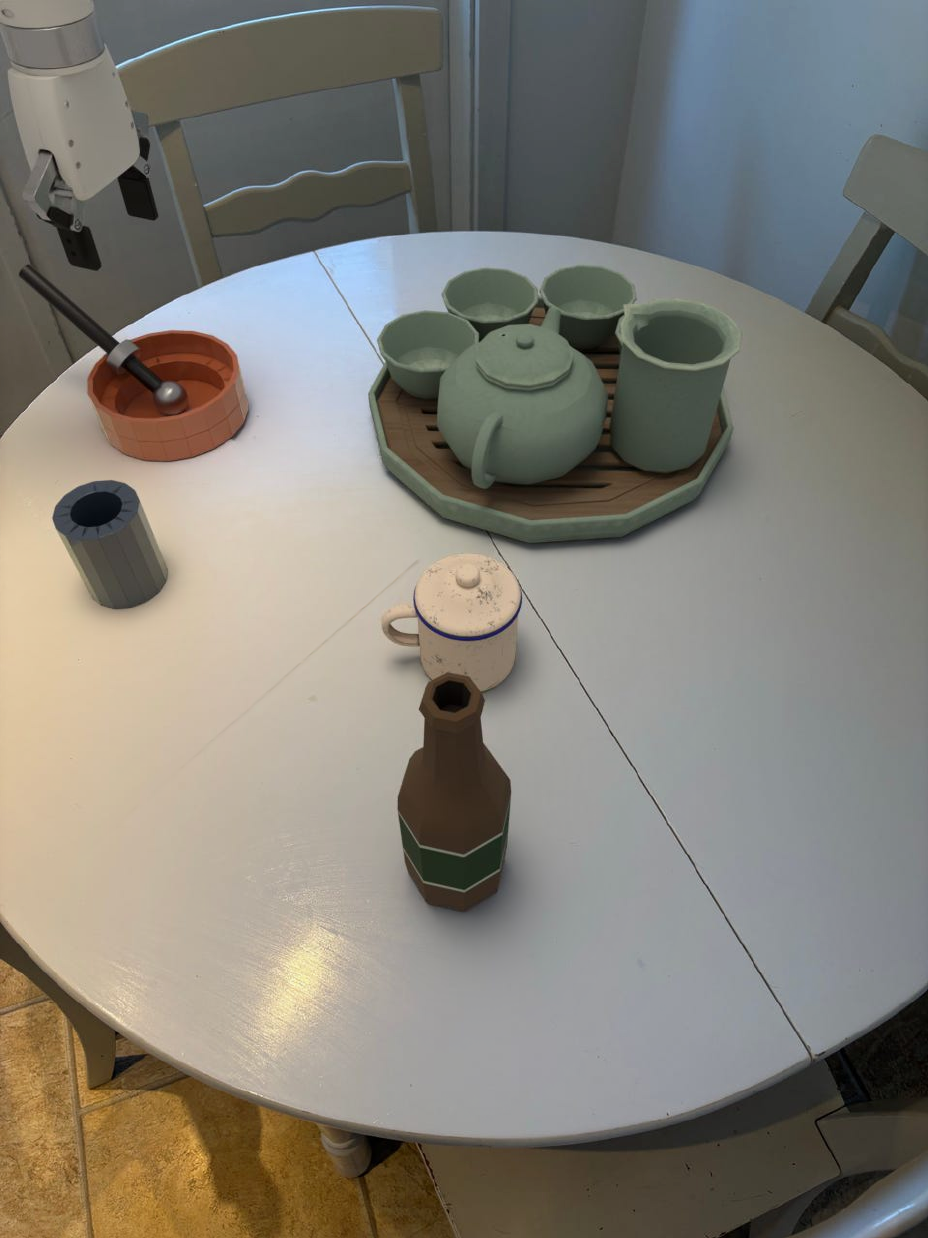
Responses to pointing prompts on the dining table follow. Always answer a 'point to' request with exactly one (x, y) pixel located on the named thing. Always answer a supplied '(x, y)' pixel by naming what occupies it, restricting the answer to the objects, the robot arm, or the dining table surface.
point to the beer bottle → (454, 800)
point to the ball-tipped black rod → (111, 346)
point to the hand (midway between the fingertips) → (115, 240)
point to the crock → (111, 543)
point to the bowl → (203, 375)
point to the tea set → (554, 403)
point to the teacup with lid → (463, 619)
